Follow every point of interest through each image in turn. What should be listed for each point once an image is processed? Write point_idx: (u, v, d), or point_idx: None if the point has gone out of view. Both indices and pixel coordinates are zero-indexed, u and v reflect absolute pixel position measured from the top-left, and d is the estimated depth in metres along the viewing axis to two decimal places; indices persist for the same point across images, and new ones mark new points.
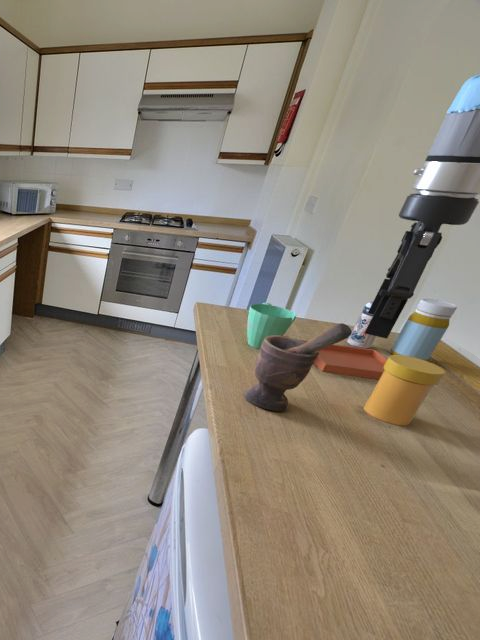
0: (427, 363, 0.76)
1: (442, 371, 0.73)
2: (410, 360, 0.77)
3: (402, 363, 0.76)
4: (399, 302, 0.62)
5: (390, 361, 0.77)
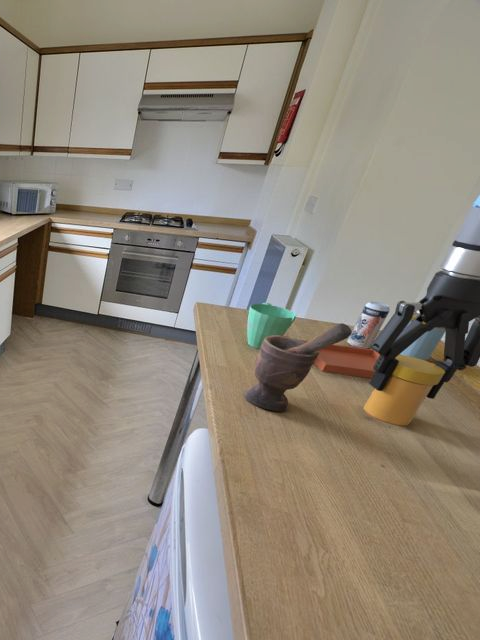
0: (427, 363, 0.76)
1: (442, 371, 0.73)
2: (410, 360, 0.77)
3: (402, 363, 0.76)
4: (383, 359, 0.76)
5: None
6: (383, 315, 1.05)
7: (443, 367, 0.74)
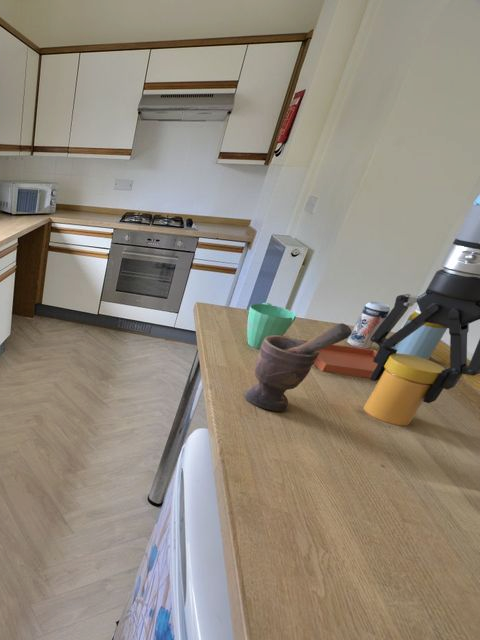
0: (397, 357, 0.77)
1: (403, 354, 0.79)
2: (414, 364, 0.75)
3: (437, 368, 0.74)
4: (461, 375, 0.71)
5: (439, 374, 0.73)
6: (383, 315, 1.05)
7: (394, 352, 0.79)
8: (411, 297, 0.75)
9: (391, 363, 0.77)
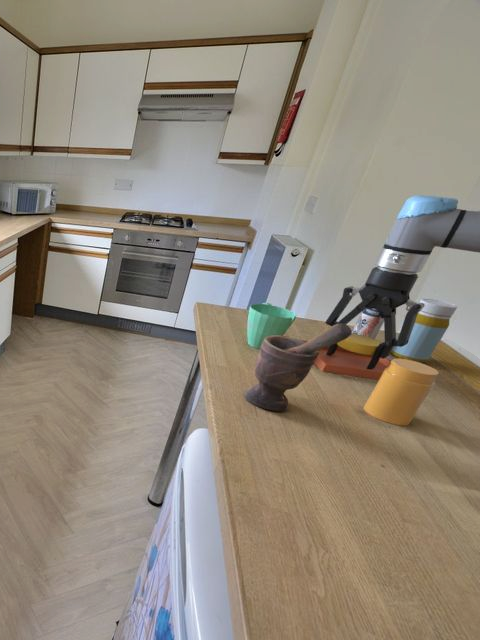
0: None
1: None
2: (358, 340, 0.97)
3: (375, 343, 0.96)
4: (392, 347, 0.93)
5: (377, 347, 0.95)
6: None
7: None
8: (354, 289, 0.97)
9: (342, 340, 0.98)
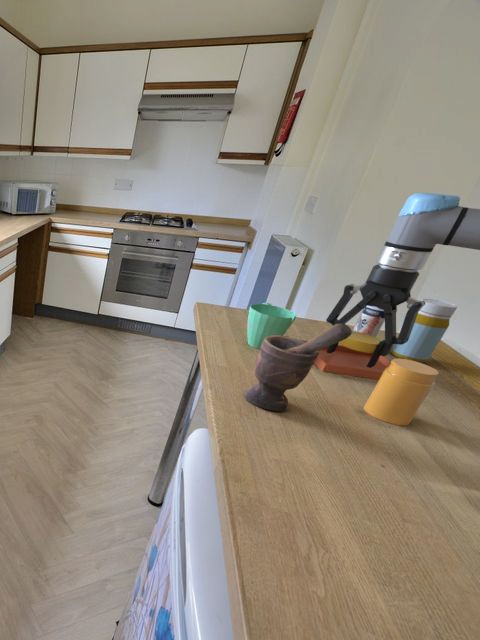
0: None
1: None
2: (359, 338, 0.97)
3: (375, 340, 0.96)
4: (392, 345, 0.93)
5: (377, 345, 0.95)
6: (383, 315, 1.05)
7: None
8: (355, 286, 0.96)
9: None
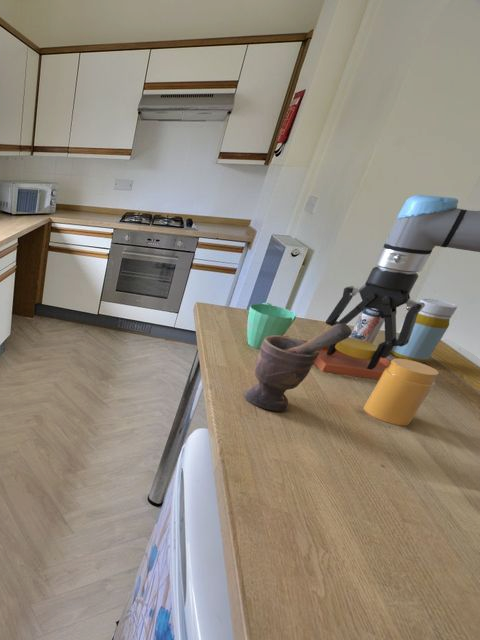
0: (344, 340, 0.99)
1: (348, 337, 1.01)
2: (356, 344, 0.97)
3: (373, 347, 0.96)
4: None
5: None
6: (383, 315, 1.05)
7: None
8: (355, 288, 0.96)
9: (340, 345, 0.99)
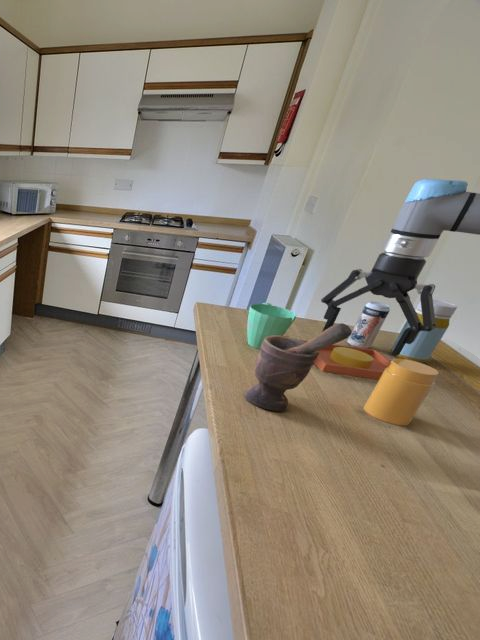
0: (339, 350, 1.01)
1: (342, 347, 1.02)
2: (351, 354, 0.99)
3: (367, 357, 0.98)
4: None
5: (369, 362, 0.96)
6: (383, 315, 1.05)
7: (339, 309, 1.01)
8: (362, 273, 0.95)
9: (335, 355, 1.00)
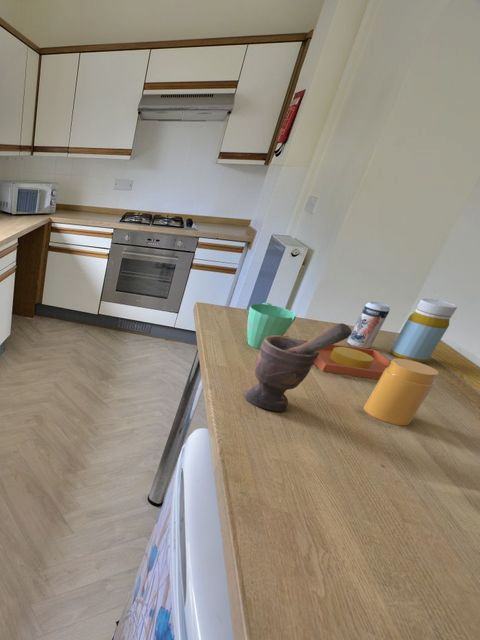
0: (339, 350, 1.01)
1: (342, 347, 1.02)
2: (351, 354, 0.99)
3: (367, 357, 0.98)
4: None
5: (369, 362, 0.96)
6: (383, 315, 1.05)
7: None
8: None
9: (335, 355, 1.00)
